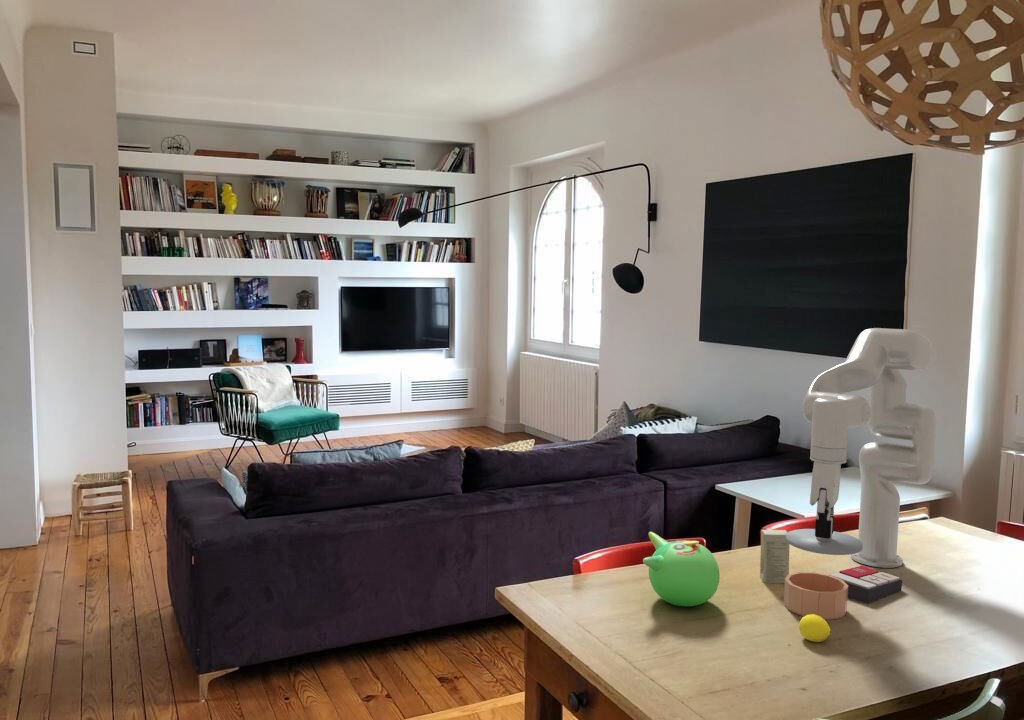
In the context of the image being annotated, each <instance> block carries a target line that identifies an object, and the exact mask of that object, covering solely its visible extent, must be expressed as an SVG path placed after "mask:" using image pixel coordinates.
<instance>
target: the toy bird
mask: <svg viewBox="0 0 1024 720" xmlns="http://www.w3.org/2000/svg"><path fill="white" fill-rule="evenodd" d="M648 538H649V540H650V542H651V543H652V544H653V545H652V546H653V547H654V548H655V551H654V552H653V554H652V555H651V556H647V557H644V558H643V559H642V563H643V564H644V565H646V567H648V578H649V581H650V584H651V587H652V588H653V591H654V592H655V593H656V595H657V596H658V597H660V598H661V599H662V600H663V601H665V602H666V603H669V604H670V605H674V606H678V607H685V608H686V607H688V608H689V607H694V606H698V605H702V604H704V603H706V602H708V601H709V600H710V599H711V598H713V596H714V594H715V593H716V592H717V590H718V587H719V584H720V580H721V579H720V578H721V577H720V576H721V575H720V568H719V565H718V562H717V560H716V557H715V556H714V555H713V553H712V552H711V551H710V550H709V549H708V548H707V547H706V546H704V545H702V544H699V543H700V541H699V540H683V539H682V540H681V539H677V540H673V541H667V540H666V539H664V538H662V537H661V535H660V536H659V534H657V533H655V532H653V531H649V532H648Z"/></svg>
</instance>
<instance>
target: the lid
mask: <svg viewBox="0 0 1024 720" xmlns="http://www.w3.org/2000/svg"><path fill="white" fill-rule="evenodd" d="M830 521H831V537H830V538H829V539H827V538H820V537H816V536H815V528H801V529H793V530H790V531H787V532H788V533H787V534H786V541H787V542H788V543H789V546H790V545H791V546H793V547H794V548H796V549H799V550H801V551H802V550H803V551H806V552H811V553H815V554H819V555H827V556H828V555H831V556H848V555H851V554H855V553H858V552H860V551H862V548H863V544H862V542H861V541H860V540H859V539H858V537H855V536H853V535H850V534H848V533H843V532H840V531H834V530H833V534H832V523H833V518H832V517H830Z"/></svg>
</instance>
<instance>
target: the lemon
mask: <svg viewBox="0 0 1024 720" xmlns="http://www.w3.org/2000/svg"><path fill="white" fill-rule="evenodd" d="M798 629H799V632H800V634H801V636H802V637H803V638H804V639H805V640H807V641H809V642H813V643H819V642H823V641H825V640H827V638H828V637H829V636H830V634H831V633H832V630H831V628H830V625H829V624H828V622H827V620H824V619H823V618H822V617H821V616H818V615H815V614H810V615H806V616H802V618H801V619H800V621H799V623H798Z"/></svg>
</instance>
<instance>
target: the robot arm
mask: <svg viewBox="0 0 1024 720" xmlns="http://www.w3.org/2000/svg"><path fill="white" fill-rule="evenodd" d="M933 349H934V348H933V345H932V342H931V341H930V339H929V338H928V337H926V336H925V335H923V334H921V333H920V332H917V331H915V330H912V329H905V328H903V329H902V328H886V327H885V328H884V327H883V328H881V327H873V328H872V327H871V328H867V329H864V330H863V331H861V332H860V333H859V334H858V336H857V338H856V339H855V341H854V342H853V345H852V347H851V348H850V351H849V353H848V355H847V357H846V359H845V361H844V362H843V363H840V364H838V365H836V366H834V367H832V368H829V369H828V370H826V371H824V372H822V373H821V374H819V375H818V376H816V378H814V380H813V381H812V383H811V385H810V386H809V387H808V390H807V392H806V393H805V396H804V398H803V401H802V406H801V407H802V408H801V410H802V416H803V419H805V421H807V422H808V423H809V424H810V423H811V433H810V457H809V459H810V460H811V462H813V465H812V466H813V468H812V472H811V485H810V486H811V487H810V497H809V505H810V506H812V507H813V506H814V505H816V504H817V506H816V515H815V516H816V517H815V525H814V526H815V528H814V529H815V536H816V537H820V538H827V539H829V538H830V537H831V521H830V517H832V518H833V523H832V534H833V531H834V527H835V526H834V525H835V524H834V523H835V516H834V513H835V505H836V503H837V502H838V499H839V494H840V486H841V485H840V483H841V467H842V464H843V465H844V464H846V463H847V462H848V460H847V457H848V456H847V454H848V442H849V441H848V440H849V439H848V438H849V429H854V430H855V429H856V430H857V429H860V428H862V427H863V426H864V425H866V424H867V422H868V429H869V431H870V433H871V434H873V435H874V436H877V437H881V438H887V439H893V440H903V441H908V442H912V444H913V445H907V444H906V445H905V444H898V443H893V442H883V441H872V442H868V443H865V444H864V445H863V446H862V447H861V448H860V450H859V454H858V464H859V471H860V472H859V473H860V503H859V504H860V505H859V520H858V535H857V536H858V537H857V539H859V540H860V541H861V542H862V544H863V548H862V551H860V552H858V553H855V554H850V558H851V559H852V560H853V561H855V562H856V563H859V564H863V565H866V566H869V567H874V568H883V569H889V568H890V569H891V568H898V567H901V566H902V565H903V564H904V563H903V561H904V560H903V557H901V555H898V554H897V553H898V541H899V539H898V536H899V522H900V521H899V519H900V508H901V507H900V506H901V497H900V494H899V491H898V490H897V488H896V486H895V484H894V483H893V482H900V483H906V484H914V485H926V484H927V483H928V482H929V481H930V480H931V479H932V474H933V472H934V471H933V469H934V460H935V447H936V437H937V434H936V433H937V417H936V413H935V411H934V410H933V409H932V408H931V407H930V406H928V405H926V404H920V403H919V404H918V403H911V402H910V403H909V402H907V400H906V398H907V387H908V386H907V385H908V384H907V380H906V379H905V377H904V375H903V374H902V372H901V371H900V370H905V371H920V372H921V371H925V370H926V369H928V367H930V365H931V363H932V360H933V357H934V356H933V355H934V350H933ZM867 388H870V395H869V398H870V399H869V402H868V400H867V399H866V398H864V397H863V396H860V395H855V394H847V393H851V392H856V391H860V390H865V389H867Z"/></svg>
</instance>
